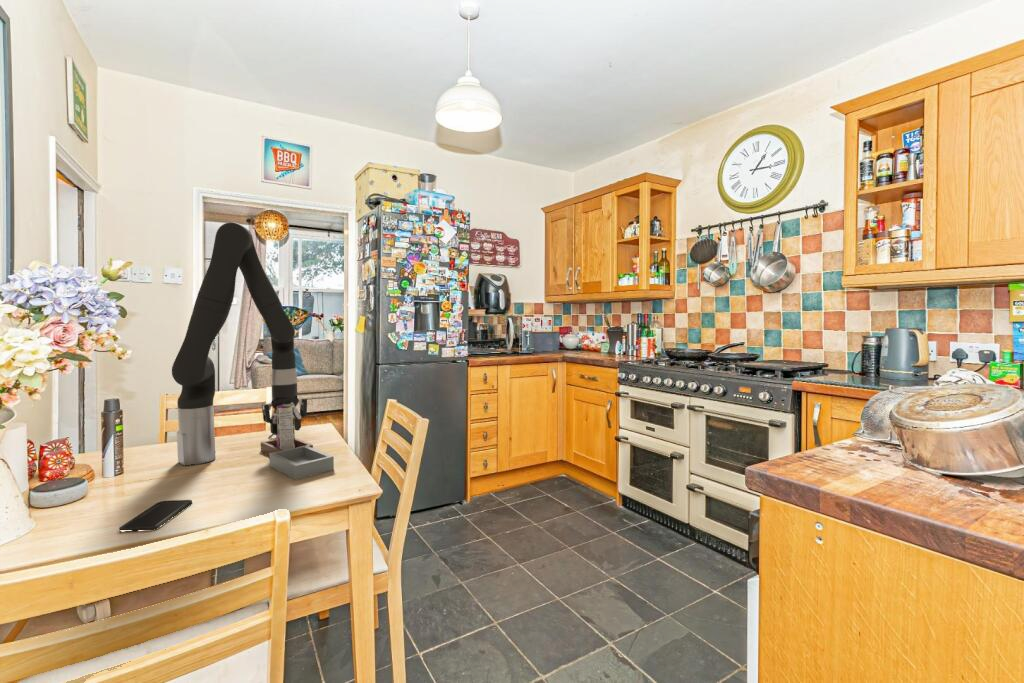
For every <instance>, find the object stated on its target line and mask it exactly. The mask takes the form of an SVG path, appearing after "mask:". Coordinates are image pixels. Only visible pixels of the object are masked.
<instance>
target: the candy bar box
mask: <svg viewBox="0 0 1024 683" xmlns="http://www.w3.org/2000/svg"><path fill="white" fill-rule="evenodd" d="M276 413H277V422H276V423H277V435H275V436H276V438H275V439H276V441H277V448H279V449H282V450H287V449H292V448H295V438H296V433H295V431H296V430H295V426H294V419H295V417H294V406H293V405H292V404H286V405H279V406H277V410H276Z"/></svg>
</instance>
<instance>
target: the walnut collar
mask: <svg viewBox="0 0 1024 683" xmlns="http://www.w3.org/2000/svg"><path fill="white" fill-rule="evenodd" d="M313 445H314V444H311V443H309V442H307V441H304V440H301V439H299V438H296V437H295V448H297V447H301V446H309V447H311V448H314V446H313ZM260 451H261V453H264V454H266V455H268V454H269V453H274V452H278V451H283V450H282V449H279V448H277V441H276V438H275V439H270V440H269V439H268V440H265V441H260Z"/></svg>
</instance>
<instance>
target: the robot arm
mask: <svg viewBox="0 0 1024 683" xmlns="http://www.w3.org/2000/svg"><path fill="white" fill-rule="evenodd" d="M212 248H213V249H212V253H211V257H210V258H211V259H210V260H209V261H210V263H209V265H208V268H207V270H206V272H205V275H204V277H203V280H202V281H201V284H200V287H199V290H198V293H197V296H196V299H195V302H194V305H193V308H192V312H191V313H192V314H191V316H190V318H189V323H188V326H187V328H186V329H187V330H186V332H185V333H186V334H185V336H184V339H183V341H182V344H181V346H180V348H179V351H178V353H177V354H176V358H175V359H174V362H173V363H172V366H171V376H172V378H173V379H174V381H175V382H176V383H177V384H179V385H180V386H181V392H180V395H179V396H178V398H177V418H178V420H177V421H178V422H177V423H178V431H177V432H176V438H177V439H176V445H177V461H178V463H179V462H180V463H179V464H181V465H182V466H183V465H184V466H185V465H186V466H192V465H191V464H195V465H201V463H202V464H206V463H209V462H212V461H214V460H215V459H216V458H217V456H216V452H217V451H216V436H215V435H216V433H215V414H214V413H215V412H214V408H215V407H214V398H215V394H216V369H215V364H214V361H213V360H212V358H210V357H209V353H210V351H211V347H212V344H213V343H214V342H215V341H214V340H215V339H216V337H217V336H218V334H219V333H220V331H221V330H222V329H223V327H224V325H225V323H226V322H227V319H228V317H229V314H230V311H231V308H232V305H233V302H234V297H235V290H236V289H235V288H236V280H237V278H236V277H237V272H238V270H240V272H241V274H242V276H243V278H244V281H245V283H246V286H247V287H246V288H247V289H248V292H249V294H250V297H251V299H252V301H253V303H254V305H255V307H256V309H257V311H258V312H259V314H260V315H261V317H262V318H263V320H264V323H265V324H266V327H267V329H268V331H269V334H270V342H271V375H270V376H271V377H270V378H271V380H270V381H271V401H270V402H267V403H262V404H261V410H262V412H261V413H262V418H263V422H265V423H267V424H269V425H270V427H269V429H270V428H271V429H270V433H271V435H272V434H273V436H276V435H277V423H276V422H277V413H276V410H277V406H279V405H286V404H292V405H293V406H294V431H300V429H301V428H302V418H304V417H307V415H308V414H307V412H308V398H304V397H301V398H298V375H297V367H296V365H297V364H296V353H295V348H294V347H295V339H294V338H295V335H296V330H295V327H294V325H293V323H292V322H291V320H290V319H289V316H288V315H287V313H286V312H285V310H284V307H283V303H281V300H280V298H279V296H278V294H277V292H276V290H275V288H274V286H273V284H272V283H271V280H270V279H269V277H268V275H267V274H266V272H265V269H264V268H263V265H262V263H261V261H260V258H259V256H258V253H257V250H256V246H255V242H254V238H253V235H252V233H251V231H250V230H249V229H248V228H247V227H246V226H244V225H242V224H240V223H238V222H233V221H229V222H225V223H223V224H221V225H220V226H219V227H218V228H217V231H216V233H215V236H214V243H213V247H212ZM298 404H299V406H300V407H299V410H298V409H297V405H298ZM272 408H273V411H272V413H271V414H270V411H271V409H272ZM205 462H206V463H205ZM186 466H185V467H186Z"/></svg>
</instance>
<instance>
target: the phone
mask: <svg viewBox="0 0 1024 683" xmlns="http://www.w3.org/2000/svg"><path fill="white" fill-rule="evenodd" d="M191 504H192V505H193V500H192V499H182V500H181V499H179V500H178V499H177V500H173V499H172V500H162V501H159V502H156V503H154V505H152V506H150V507H148V508H147V509H146V510H144V511H143V512H141V513H139V514H138V515H136V516H135V517H133V518H131V519H130V520H129V521H127V522H125V523H124V524H123V525H121V526H119V529H120V530H133V531H138V530H154V529H157V528H159V527H160V526H161V525H163V524H164V523H166V522H167V521H168V520H170V519H171V518H172V517H174V516H176V515H177V514H178V513H179V512H181V511H182V510H183V509H185V508H186V507H188V506H189V505H190V506H192V505H191ZM190 506H189V507H190ZM189 507H188V508H189ZM186 509H187V508H186ZM186 509H185V510H186ZM182 512H183V511H182ZM182 512H181V513H182ZM178 515H179V514H178ZM178 515H177V516H178ZM174 518H175V517H174ZM171 520H172V519H171ZM171 520H170V521H171ZM167 523H168V522H167ZM167 523H166V524H167ZM163 526H164V525H163ZM119 529H118V530H119ZM159 529H160V528H159ZM157 530H158V529H157ZM154 531H155V530H154Z"/></svg>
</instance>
